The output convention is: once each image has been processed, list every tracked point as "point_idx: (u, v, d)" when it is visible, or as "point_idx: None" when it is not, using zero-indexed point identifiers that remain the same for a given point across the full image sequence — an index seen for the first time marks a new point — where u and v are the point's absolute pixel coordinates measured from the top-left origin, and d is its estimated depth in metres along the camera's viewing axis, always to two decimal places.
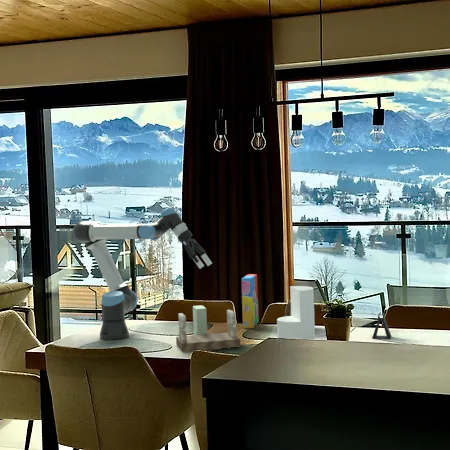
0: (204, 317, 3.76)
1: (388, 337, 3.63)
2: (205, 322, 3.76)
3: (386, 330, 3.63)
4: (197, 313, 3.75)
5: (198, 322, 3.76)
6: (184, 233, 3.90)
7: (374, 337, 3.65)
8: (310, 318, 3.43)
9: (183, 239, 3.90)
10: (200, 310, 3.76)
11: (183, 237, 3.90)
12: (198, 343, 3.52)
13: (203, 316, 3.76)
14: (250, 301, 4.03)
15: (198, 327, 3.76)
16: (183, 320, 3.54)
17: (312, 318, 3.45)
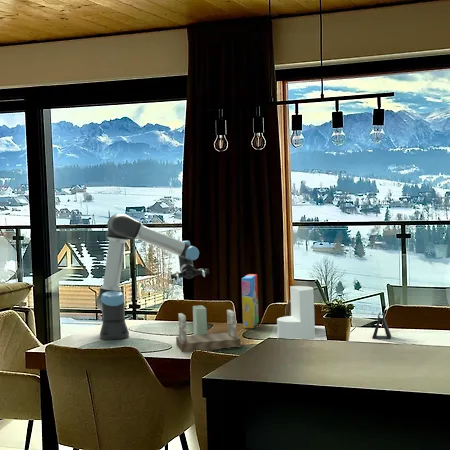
0: (204, 317, 3.76)
1: (388, 337, 3.63)
2: (205, 322, 3.76)
3: (386, 330, 3.63)
4: (197, 313, 3.75)
5: (198, 322, 3.76)
6: None
7: (374, 337, 3.65)
8: (310, 318, 3.43)
9: None
10: (200, 310, 3.76)
11: None
12: (198, 343, 3.52)
13: (203, 316, 3.76)
14: (250, 301, 4.03)
15: (198, 327, 3.76)
16: (183, 320, 3.54)
17: (312, 318, 3.45)
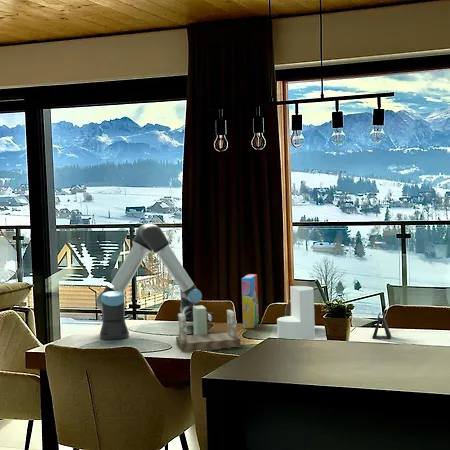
0: (204, 317, 3.76)
1: (388, 337, 3.63)
2: (205, 322, 3.76)
3: (386, 330, 3.63)
4: (197, 313, 3.75)
5: (198, 322, 3.76)
6: None
7: (374, 337, 3.65)
8: (310, 318, 3.43)
9: None
10: (200, 310, 3.76)
11: None
12: (198, 343, 3.52)
13: (203, 316, 3.76)
14: (250, 301, 4.03)
15: (198, 327, 3.76)
16: (183, 320, 3.54)
17: (312, 318, 3.45)
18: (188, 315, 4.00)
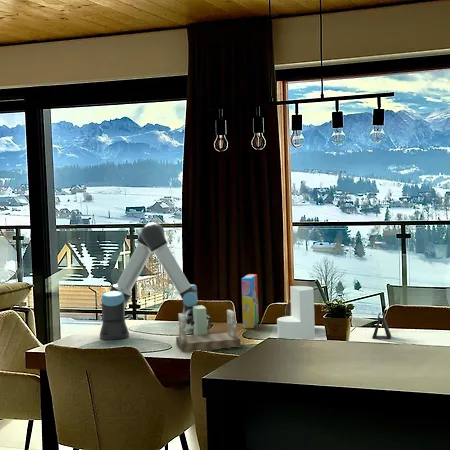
0: (204, 317, 3.76)
1: (388, 337, 3.63)
2: (205, 322, 3.76)
3: (386, 330, 3.63)
4: (197, 313, 3.75)
5: (198, 322, 3.76)
6: None
7: (374, 337, 3.65)
8: (310, 318, 3.43)
9: None
10: (200, 310, 3.76)
11: None
12: (198, 343, 3.52)
13: (203, 315, 3.76)
14: (250, 301, 4.03)
15: (198, 327, 3.76)
16: (183, 320, 3.54)
17: (312, 318, 3.45)
18: (191, 318, 3.89)
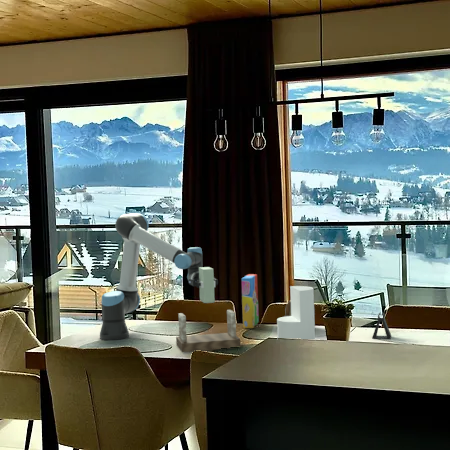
0: (211, 278, 3.58)
1: (388, 337, 3.63)
2: (212, 283, 3.58)
3: (386, 330, 3.63)
4: (204, 274, 3.57)
5: (205, 283, 3.57)
6: None
7: (374, 337, 3.65)
8: (310, 318, 3.43)
9: None
10: (207, 271, 3.57)
11: None
12: (198, 343, 3.52)
13: (210, 276, 3.58)
14: (250, 301, 4.03)
15: (205, 288, 3.57)
16: (183, 320, 3.54)
17: (312, 318, 3.45)
18: (197, 281, 3.71)
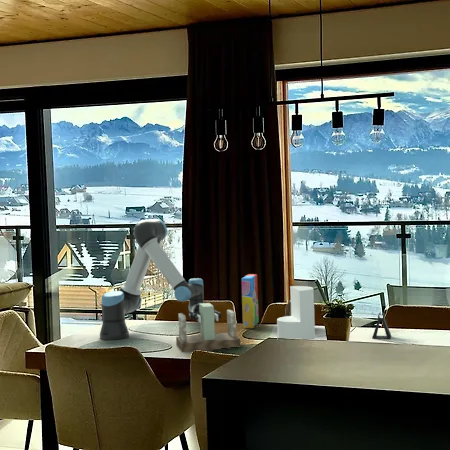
0: (212, 315, 3.57)
1: (388, 337, 3.63)
2: (212, 320, 3.57)
3: (386, 330, 3.63)
4: (204, 311, 3.56)
5: (205, 320, 3.56)
6: None
7: (374, 337, 3.65)
8: (310, 318, 3.43)
9: None
10: (207, 308, 3.56)
11: None
12: (198, 343, 3.52)
13: (210, 314, 3.56)
14: (250, 301, 4.03)
15: (205, 326, 3.56)
16: (183, 320, 3.54)
17: (312, 318, 3.45)
18: None
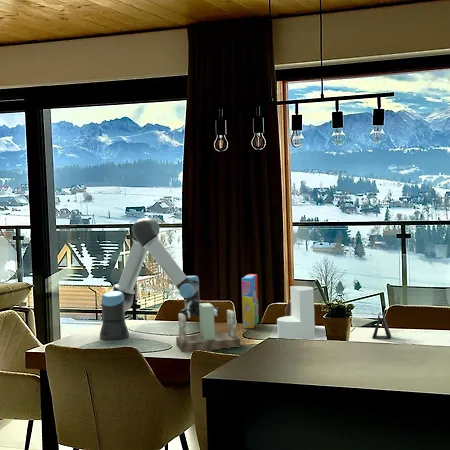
0: (212, 315, 3.57)
1: (388, 337, 3.63)
2: (212, 320, 3.57)
3: (386, 330, 3.63)
4: (204, 311, 3.56)
5: (205, 320, 3.56)
6: None
7: (374, 337, 3.65)
8: (310, 318, 3.43)
9: None
10: (207, 308, 3.56)
11: None
12: (198, 343, 3.52)
13: (210, 314, 3.56)
14: (250, 301, 4.03)
15: (205, 326, 3.56)
16: (183, 320, 3.54)
17: (312, 318, 3.45)
18: (193, 310, 3.82)
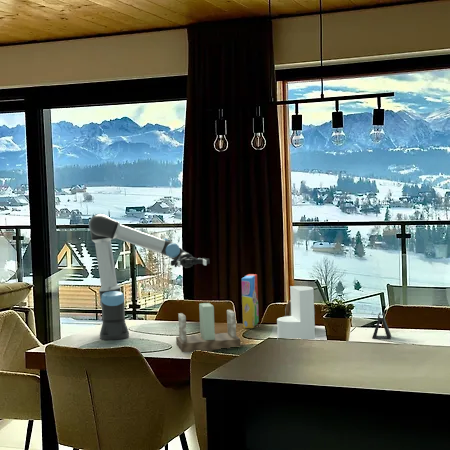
0: (212, 315, 3.57)
1: (388, 337, 3.63)
2: (212, 320, 3.57)
3: (386, 330, 3.63)
4: (204, 311, 3.56)
5: (205, 320, 3.56)
6: None
7: (374, 337, 3.65)
8: (310, 318, 3.43)
9: None
10: (207, 308, 3.56)
11: None
12: (198, 343, 3.52)
13: (210, 314, 3.56)
14: (250, 301, 4.03)
15: (205, 326, 3.56)
16: (183, 320, 3.54)
17: (312, 318, 3.45)
18: (183, 261, 3.94)
